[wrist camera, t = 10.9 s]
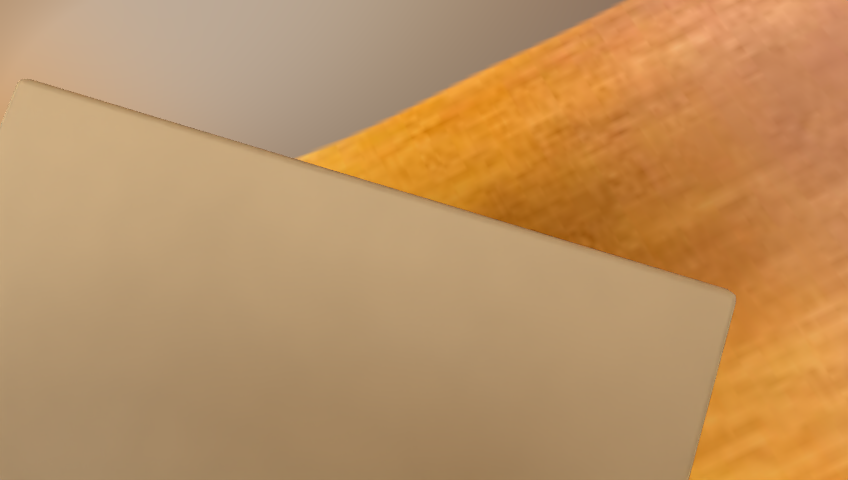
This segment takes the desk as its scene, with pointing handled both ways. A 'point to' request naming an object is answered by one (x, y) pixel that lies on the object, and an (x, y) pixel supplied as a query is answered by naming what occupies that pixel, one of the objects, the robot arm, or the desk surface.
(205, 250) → the toy box
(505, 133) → the desk surface
